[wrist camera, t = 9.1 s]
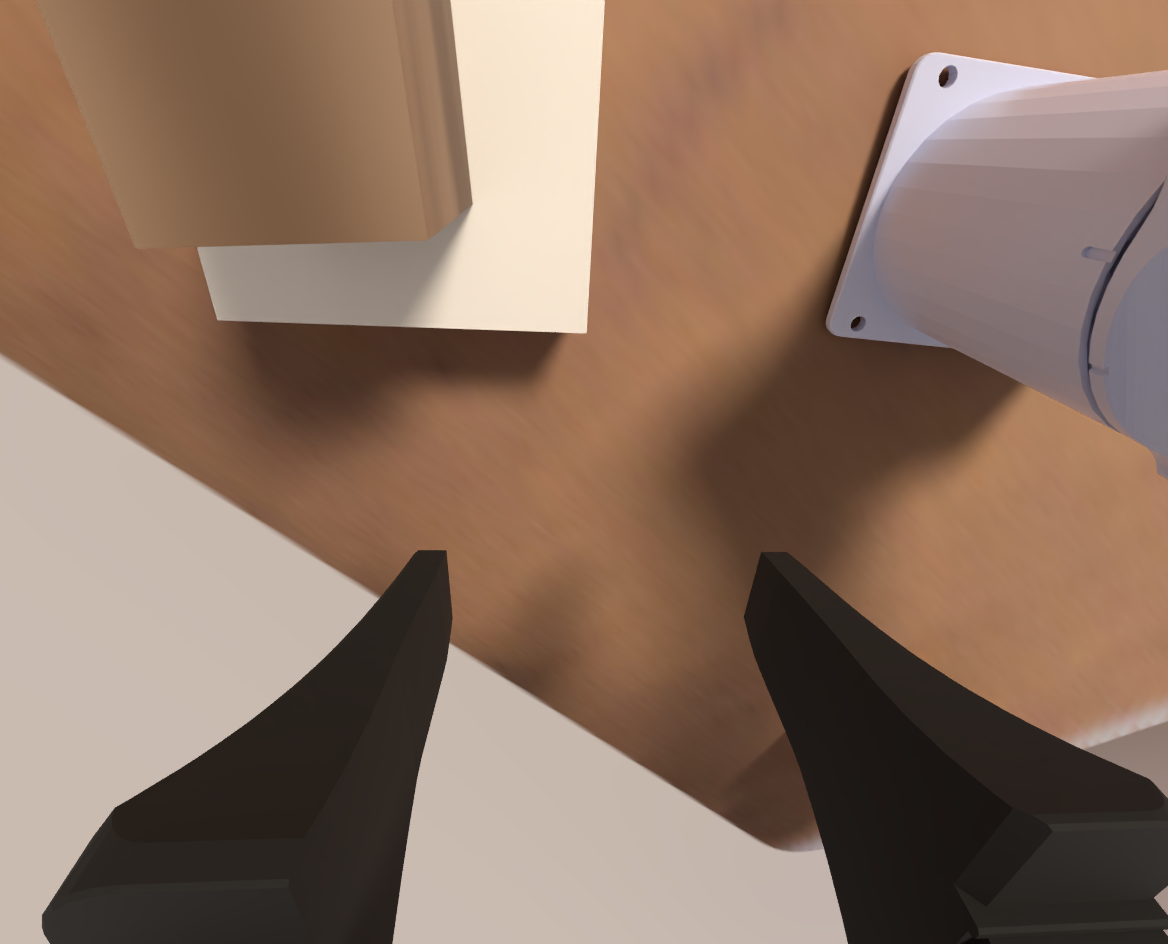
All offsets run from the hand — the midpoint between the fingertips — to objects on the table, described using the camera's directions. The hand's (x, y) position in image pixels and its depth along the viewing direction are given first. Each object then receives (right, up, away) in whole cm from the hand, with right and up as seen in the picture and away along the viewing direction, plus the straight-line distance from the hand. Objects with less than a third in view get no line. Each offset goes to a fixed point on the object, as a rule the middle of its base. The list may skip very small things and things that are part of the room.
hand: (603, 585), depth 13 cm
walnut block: (-6, +11, 0) cm, 12 cm away
